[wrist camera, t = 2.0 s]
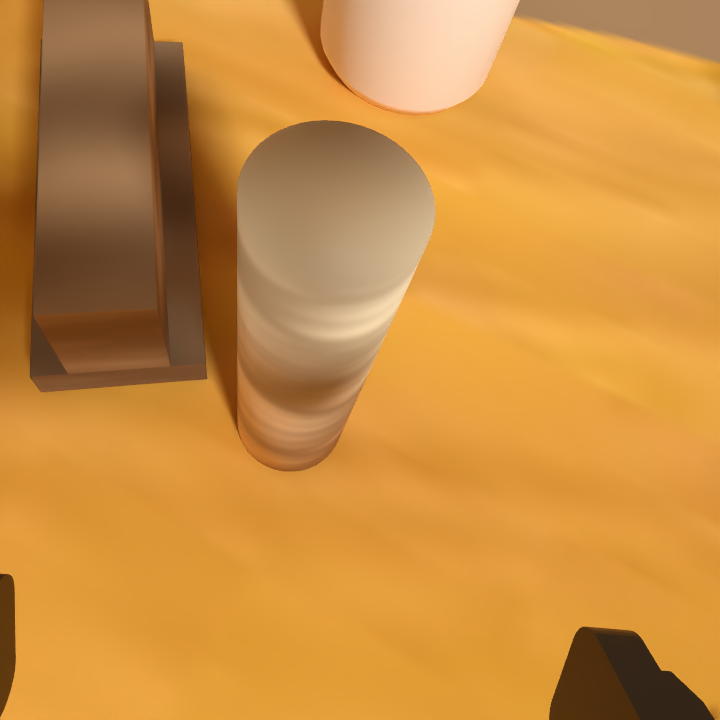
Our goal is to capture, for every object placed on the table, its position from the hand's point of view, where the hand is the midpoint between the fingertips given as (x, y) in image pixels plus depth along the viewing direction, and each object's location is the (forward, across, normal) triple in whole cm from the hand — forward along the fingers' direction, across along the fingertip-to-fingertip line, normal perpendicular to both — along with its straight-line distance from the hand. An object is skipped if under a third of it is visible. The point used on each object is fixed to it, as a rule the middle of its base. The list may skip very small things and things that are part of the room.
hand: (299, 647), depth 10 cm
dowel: (+16, 0, +4) cm, 17 cm away
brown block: (+22, +8, -2) cm, 24 cm away
